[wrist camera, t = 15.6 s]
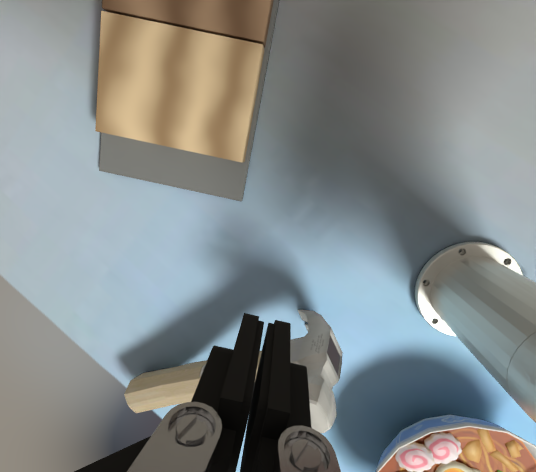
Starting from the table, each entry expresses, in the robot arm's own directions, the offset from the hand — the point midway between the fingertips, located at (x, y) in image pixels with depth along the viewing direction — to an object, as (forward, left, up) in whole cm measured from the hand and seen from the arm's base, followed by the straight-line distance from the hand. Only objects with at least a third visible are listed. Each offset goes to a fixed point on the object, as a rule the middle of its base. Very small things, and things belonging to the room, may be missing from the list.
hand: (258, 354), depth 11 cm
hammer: (+3, +21, -30) cm, 37 cm away
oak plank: (+14, -11, -28) cm, 33 cm away
